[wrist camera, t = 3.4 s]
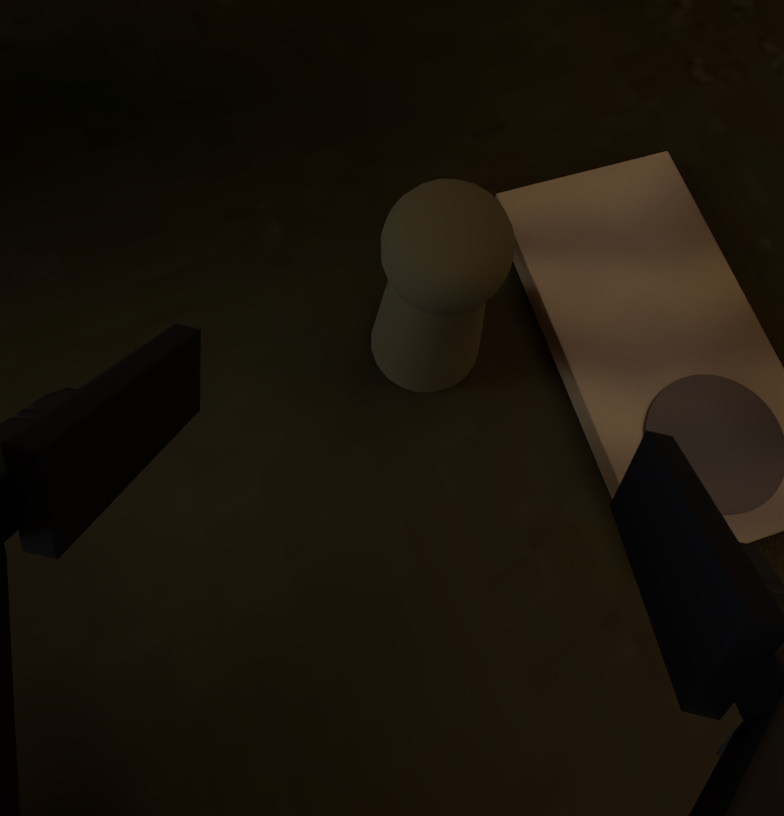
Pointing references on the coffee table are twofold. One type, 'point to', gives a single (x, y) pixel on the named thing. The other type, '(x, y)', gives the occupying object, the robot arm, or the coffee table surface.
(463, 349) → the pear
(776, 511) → the beech board
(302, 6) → the coffee table surface
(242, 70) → the coffee table surface
